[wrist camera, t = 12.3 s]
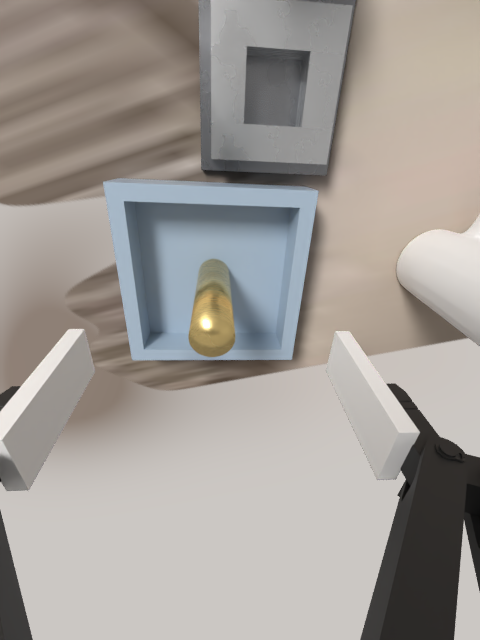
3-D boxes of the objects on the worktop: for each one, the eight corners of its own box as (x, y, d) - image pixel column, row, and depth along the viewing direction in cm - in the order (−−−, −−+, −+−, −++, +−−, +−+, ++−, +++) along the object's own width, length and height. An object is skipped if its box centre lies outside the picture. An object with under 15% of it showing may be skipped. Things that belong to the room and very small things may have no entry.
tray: (118, 178, 24) (103, 181, 20) (305, 186, 25) (318, 190, 22) (140, 339, 31) (132, 360, 28) (284, 339, 32) (291, 359, 29)
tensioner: (195, -197, 15) (175, -521, 8) (380, -171, 16) (517, -444, 9) (201, 169, 24) (194, 176, 16) (324, 175, 24) (370, 184, 17)
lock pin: (198, 258, 27) (187, 317, 17) (229, 259, 27) (236, 317, 17) (198, 287, 28) (189, 357, 18) (228, 287, 28) (234, 357, 19)
